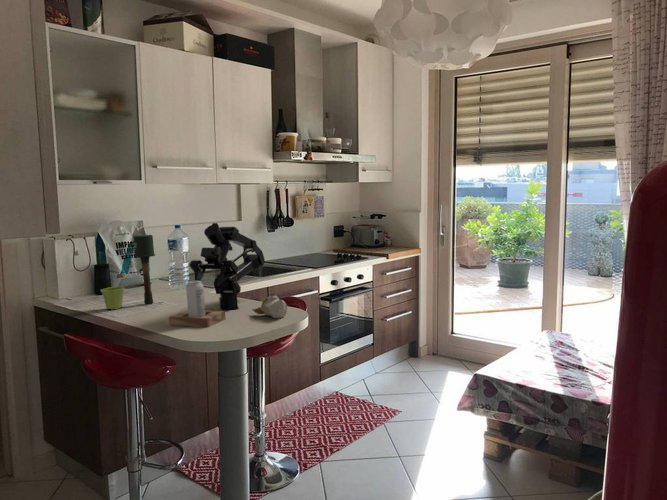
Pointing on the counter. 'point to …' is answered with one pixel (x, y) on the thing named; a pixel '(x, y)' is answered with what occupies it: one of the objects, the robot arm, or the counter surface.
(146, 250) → the potato masher grenade
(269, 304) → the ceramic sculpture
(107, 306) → the plant pot
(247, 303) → the counter surface
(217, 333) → the counter surface
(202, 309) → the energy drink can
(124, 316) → the counter surface
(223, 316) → the hole board
